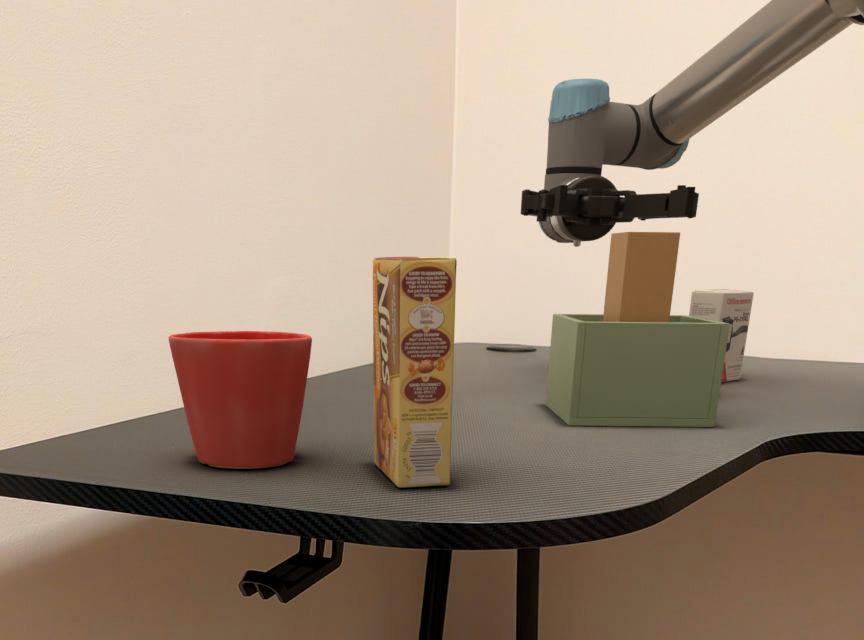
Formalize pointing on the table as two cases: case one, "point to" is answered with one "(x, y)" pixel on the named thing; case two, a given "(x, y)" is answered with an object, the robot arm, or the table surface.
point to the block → (641, 276)
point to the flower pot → (242, 394)
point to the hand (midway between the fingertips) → (626, 200)
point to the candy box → (413, 368)
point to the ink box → (728, 310)
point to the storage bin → (636, 371)
